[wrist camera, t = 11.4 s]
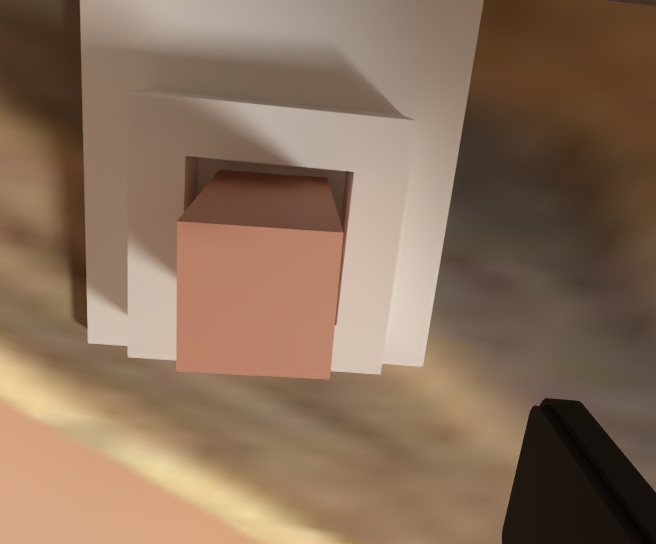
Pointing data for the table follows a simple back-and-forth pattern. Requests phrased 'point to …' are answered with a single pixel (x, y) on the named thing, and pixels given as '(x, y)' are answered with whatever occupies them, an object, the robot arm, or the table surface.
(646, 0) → the grey l-shaped bracket
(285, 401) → the table surface
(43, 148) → the table surface
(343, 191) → the socket stand
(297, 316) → the peg
